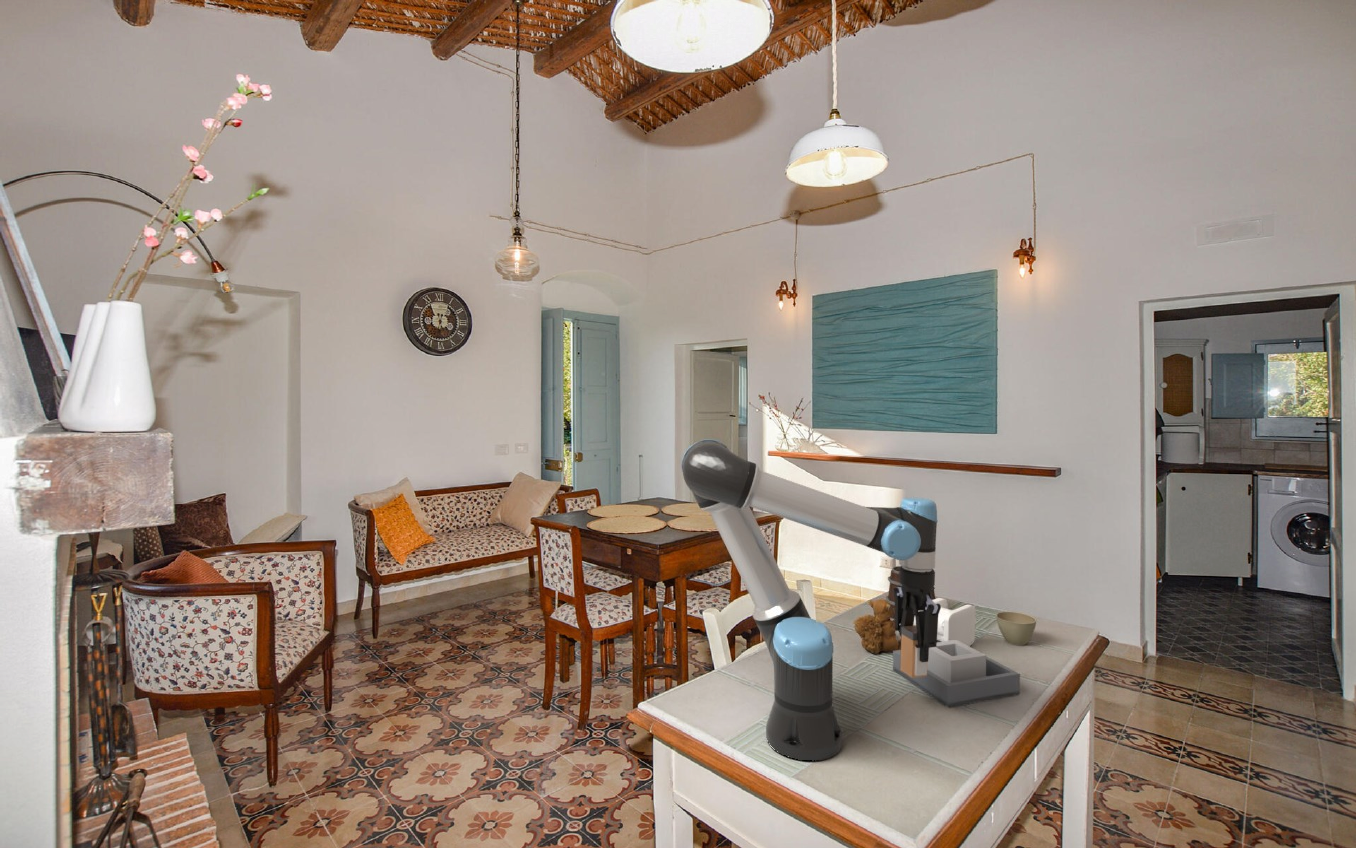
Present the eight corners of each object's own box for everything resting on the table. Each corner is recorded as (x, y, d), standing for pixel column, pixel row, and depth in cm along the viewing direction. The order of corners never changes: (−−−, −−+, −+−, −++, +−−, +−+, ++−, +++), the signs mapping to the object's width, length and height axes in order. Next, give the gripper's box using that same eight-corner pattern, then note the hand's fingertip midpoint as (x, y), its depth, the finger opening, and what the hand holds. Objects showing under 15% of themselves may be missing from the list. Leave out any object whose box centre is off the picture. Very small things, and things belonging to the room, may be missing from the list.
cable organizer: (947, 659, 162) (947, 616, 162) (911, 646, 171) (911, 605, 170) (976, 645, 171) (976, 604, 171) (940, 634, 180) (940, 595, 179)
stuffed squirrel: (910, 648, 169) (910, 602, 169) (877, 661, 162) (876, 612, 161) (880, 637, 178) (880, 592, 177) (847, 648, 170) (847, 602, 169)
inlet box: (948, 708, 137) (948, 672, 136) (893, 670, 156) (893, 639, 156) (1019, 694, 142) (1020, 661, 142) (958, 660, 161) (958, 630, 161)
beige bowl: (1036, 639, 174) (1037, 615, 174) (1035, 652, 166) (1035, 626, 166) (997, 632, 180) (997, 609, 180) (994, 644, 171) (994, 619, 171)
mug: (879, 616, 195) (879, 569, 194) (896, 606, 204) (896, 562, 203) (928, 628, 184) (928, 579, 183) (943, 618, 192) (944, 571, 192)
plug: (911, 678, 135) (913, 633, 135) (900, 670, 139) (901, 626, 139) (927, 676, 136) (928, 631, 136) (915, 668, 140) (916, 625, 140)
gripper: (958, 577, 130) (954, 685, 130) (906, 557, 146) (903, 653, 147) (928, 579, 127) (924, 689, 128) (879, 558, 144) (876, 656, 145)
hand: (913, 669), depth 138 cm, fingers closed on plug, 4 cm apart
